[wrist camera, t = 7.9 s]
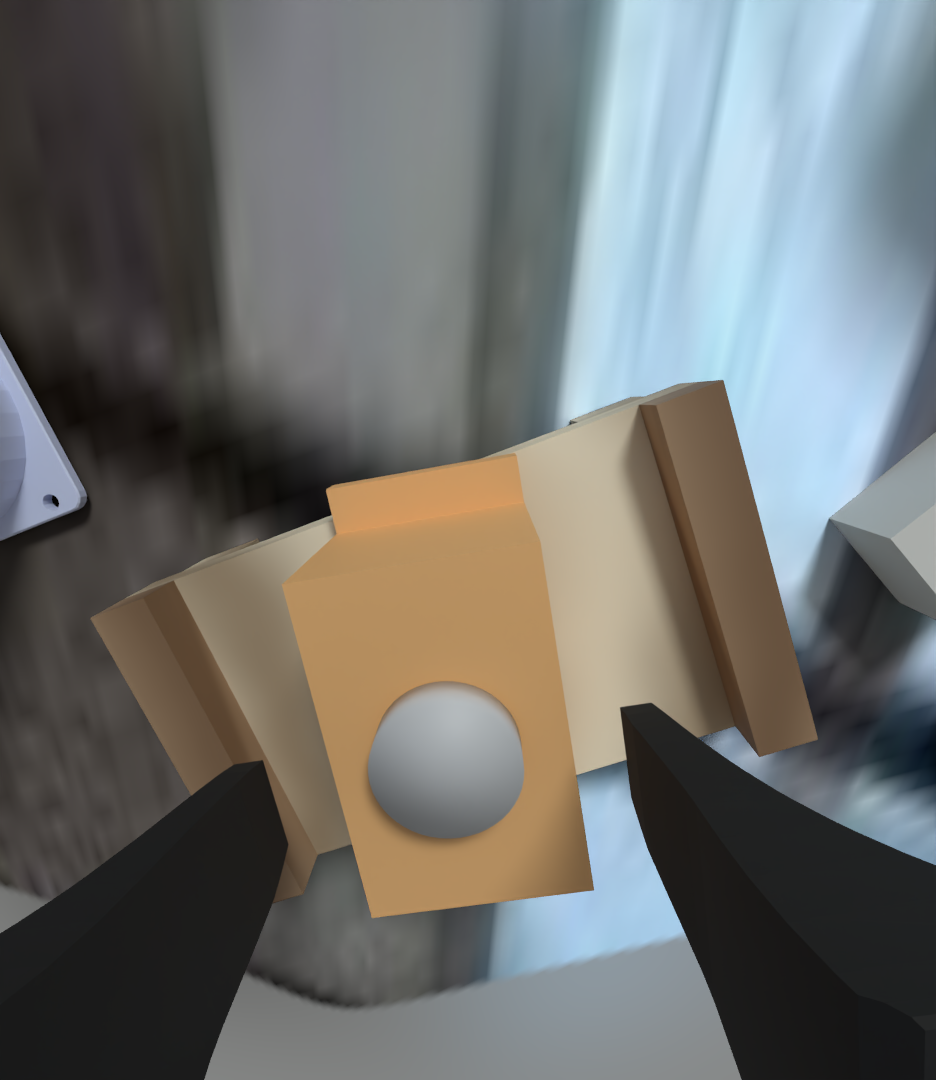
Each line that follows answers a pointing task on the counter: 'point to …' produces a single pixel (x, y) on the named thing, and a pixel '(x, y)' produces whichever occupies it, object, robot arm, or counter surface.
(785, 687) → the stand
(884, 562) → the rubber block
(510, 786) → the housing
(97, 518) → the counter surface
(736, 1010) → the robot arm
